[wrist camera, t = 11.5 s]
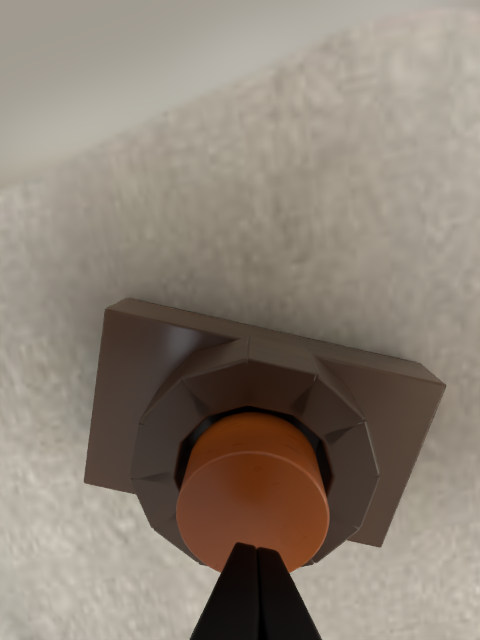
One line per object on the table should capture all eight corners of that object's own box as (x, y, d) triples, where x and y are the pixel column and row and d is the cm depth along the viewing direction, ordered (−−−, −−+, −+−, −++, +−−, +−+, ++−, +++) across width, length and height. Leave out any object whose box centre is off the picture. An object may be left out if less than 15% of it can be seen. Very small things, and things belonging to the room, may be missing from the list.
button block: (423, 359, 12) (489, 412, 8) (365, 512, 13) (401, 609, 10) (126, 292, 12) (72, 319, 8) (103, 455, 13) (51, 533, 10)
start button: (332, 426, 9) (350, 472, 7) (298, 531, 10) (307, 594, 8) (202, 398, 9) (190, 437, 7) (179, 506, 10) (163, 563, 8)
